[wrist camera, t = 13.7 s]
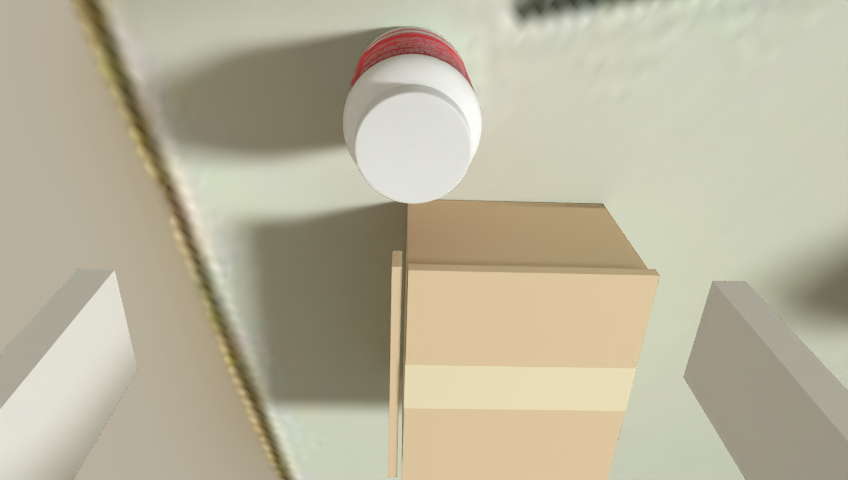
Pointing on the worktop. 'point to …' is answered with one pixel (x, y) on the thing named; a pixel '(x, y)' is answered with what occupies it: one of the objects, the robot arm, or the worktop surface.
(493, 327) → the lid
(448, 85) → the pill bottle
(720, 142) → the worktop surface
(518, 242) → the carton
